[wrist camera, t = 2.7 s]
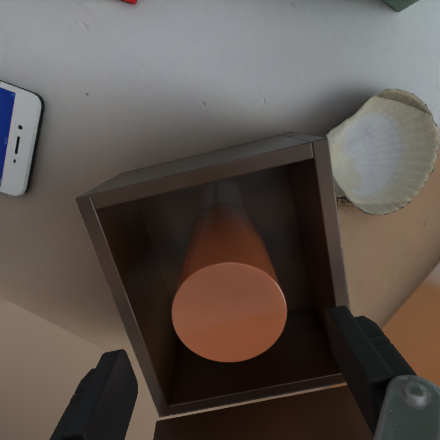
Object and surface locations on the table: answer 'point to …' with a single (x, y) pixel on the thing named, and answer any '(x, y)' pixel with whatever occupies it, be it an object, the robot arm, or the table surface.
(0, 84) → the smartphone
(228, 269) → the cylinder
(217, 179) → the chest
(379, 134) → the seashell
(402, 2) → the stand
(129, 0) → the toy figure
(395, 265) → the table surface
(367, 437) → the lid
